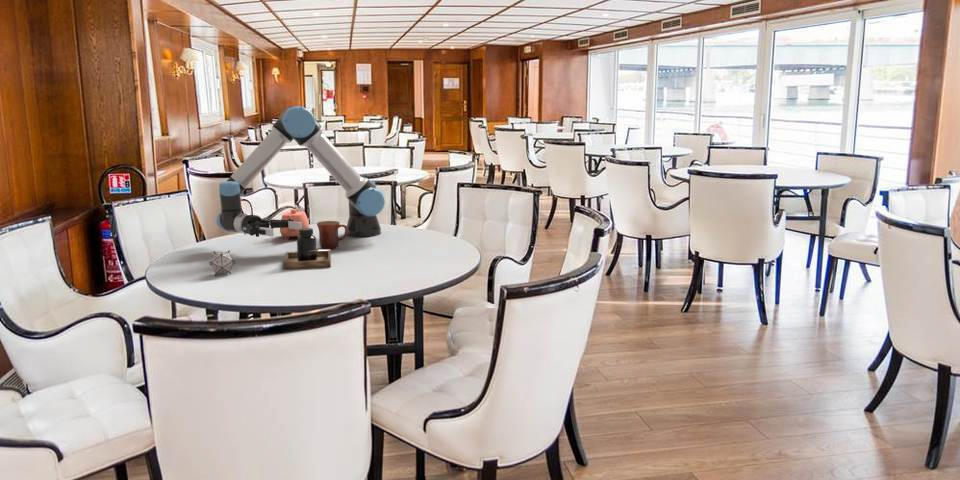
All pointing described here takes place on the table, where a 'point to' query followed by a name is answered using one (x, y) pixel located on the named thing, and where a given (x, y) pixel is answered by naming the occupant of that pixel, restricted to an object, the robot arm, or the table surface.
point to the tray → (321, 261)
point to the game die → (222, 262)
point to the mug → (330, 234)
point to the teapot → (296, 217)
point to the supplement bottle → (306, 245)
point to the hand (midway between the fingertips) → (287, 229)
